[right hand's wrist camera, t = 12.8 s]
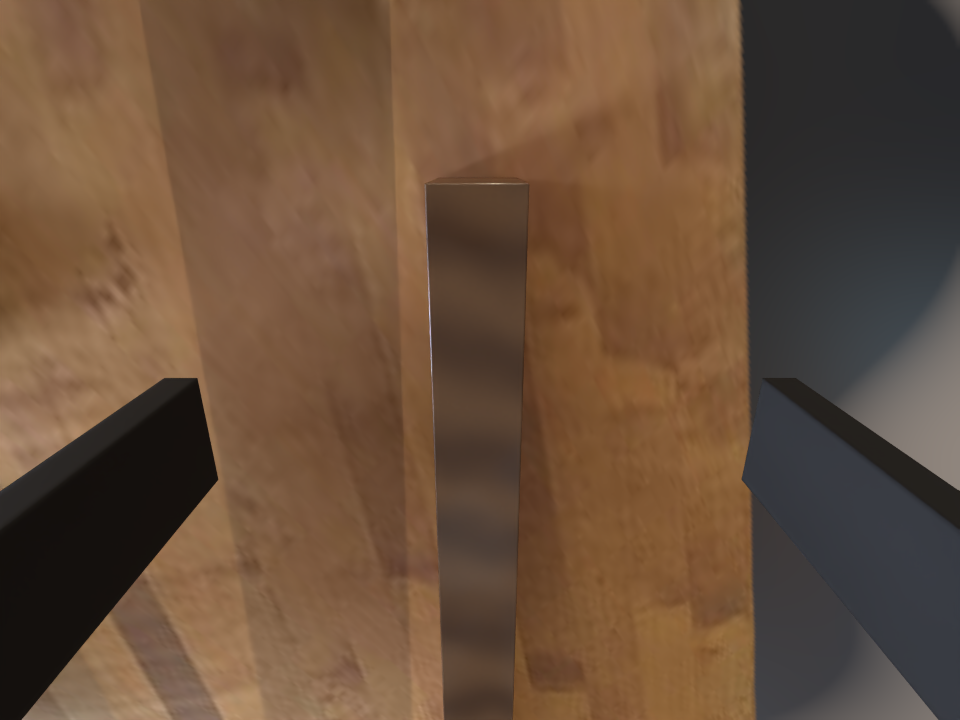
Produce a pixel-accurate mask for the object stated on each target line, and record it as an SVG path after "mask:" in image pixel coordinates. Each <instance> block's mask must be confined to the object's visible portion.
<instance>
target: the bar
mask: <svg viewBox="0 0 960 720" xmlns="http://www.w3.org/2000/svg"><path fill="white" fill-rule="evenodd" d="M528 206H529V184H528V183H526V182H524V181H522V180H520V179H518V178H437V179H435V180H432V181H430V182H428V183H426V184H425V209H426V236H427V264H428V292H429V319H430V347H431V375H432V402H433V430H434V458H435V486H436V513H437V541H438V569H439V596H440V624H441V652H442V679H443V707H444V720H513V692H514V660H515V627H516V595H517V562H518V530H519V498H520V465H521V433H522V400H523V368H524V336H525V303H526V271H527V238H528Z"/></svg>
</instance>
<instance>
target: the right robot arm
mask: <svg viewBox="0 0 960 720" xmlns="http://www.w3.org/2000/svg"><path fill="white" fill-rule="evenodd" d="M217 481H218V476H217V471H216V466H215V461H214V456H213V451H212V447H211V442H210V437H209V432H208V427H207V422H206V418H205V413H204V408H203V403H202V398H201V393H200V388H199V384H198V379H197V378H164V379H162V380H161V381H160V382H158V383H157V384H155V385H154V386H152V387H151V388H149V389H148V390H146V391H145V392H144V393H142V394H141V395H139V396H138V397H136V398H135V399H133V400H132V401H131V402H129V403H128V404H126V405H125V406H123V407H122V408H120V409H119V410H117V411H116V412H115V413H113V414H112V415H110V416H109V417H107V418H106V419H104V420H103V421H102V422H100V423H99V424H97V425H96V426H94V427H93V428H91V429H90V430H89V431H87V432H86V433H84V434H83V435H81V436H80V437H78V438H77V439H75V440H74V441H73V442H71V443H70V444H68V445H67V446H65V447H64V448H62V449H61V450H60V451H58V452H57V453H55V454H54V455H52V456H51V457H49V458H48V459H46V460H45V461H44V462H42V463H41V464H39V465H38V466H36V467H35V468H33V469H32V470H31V471H29V472H28V473H26V474H25V475H23V476H22V477H20V478H19V479H17V480H16V481H15V482H13V483H12V484H10V485H9V486H7V487H6V488H4V489H3V490H2V491H0V720H22V718H23V717H24V716H25V715H26V714H27V712H28V711H29V710H30V709H31V707H32V706H33V705H34V704H35V703H36V701H37V700H38V699H39V698H40V696H41V695H42V694H43V693H44V692H45V690H46V689H47V688H48V687H49V686H50V684H51V683H52V682H53V681H54V679H55V678H56V677H57V676H58V675H59V673H60V672H61V671H62V670H63V668H64V667H65V666H66V665H67V664H68V662H69V661H70V660H71V659H72V657H73V656H74V655H75V654H76V653H77V651H78V650H79V649H80V648H81V646H82V645H83V644H84V643H85V642H86V640H87V639H88V638H89V637H90V635H91V634H92V633H93V632H94V631H95V629H96V628H97V627H98V626H99V625H100V623H101V622H102V621H103V620H104V618H105V617H106V616H107V615H108V614H109V612H110V611H111V610H112V609H113V607H114V606H115V605H116V604H117V603H118V601H119V600H120V599H121V598H122V596H123V595H124V594H125V593H126V592H127V590H128V589H129V588H130V587H131V585H132V584H133V583H134V582H135V581H136V579H137V578H138V577H139V576H140V575H141V573H142V572H143V571H144V570H145V568H146V567H147V566H148V565H149V564H150V562H151V561H152V560H153V559H154V557H155V556H156V555H157V554H158V553H159V551H160V550H161V549H162V548H163V546H164V545H165V544H166V543H167V542H168V540H169V539H170V538H171V537H172V535H173V534H174V533H175V532H176V531H177V529H178V528H179V527H180V526H181V524H182V523H183V522H184V521H185V520H186V518H187V517H188V516H189V515H190V514H191V512H192V511H193V510H194V509H195V507H196V506H197V505H198V504H199V503H200V501H201V500H202V499H203V498H204V496H205V495H206V494H207V493H208V492H209V490H210V489H211V488H212V487H213V485H214V484H215V483H216V482H217ZM742 481H743V482H744V483H745V484H746V485H747V487H748V488H749V489H750V490H751V492H752V493H753V494H754V495H755V496H756V498H757V499H758V500H759V501H760V502H761V504H762V505H763V506H764V507H765V509H766V510H767V511H768V512H769V514H770V515H771V516H772V517H773V518H774V520H775V521H776V522H777V523H778V524H779V526H780V527H781V528H782V529H783V531H784V532H785V533H786V534H787V535H788V537H789V538H790V539H791V540H792V542H793V543H794V544H795V545H796V546H797V548H798V549H799V550H800V551H801V553H802V554H803V555H804V556H805V557H806V559H807V560H808V561H809V562H810V563H811V565H812V566H813V567H814V568H815V570H816V571H817V572H818V573H819V575H820V576H821V577H822V578H823V579H824V581H825V582H826V583H827V584H828V585H829V587H830V588H831V589H832V590H833V592H834V593H835V594H836V595H837V596H838V598H839V599H840V600H841V601H842V603H843V604H844V605H845V606H846V607H847V609H848V610H849V611H850V612H851V614H852V615H853V616H854V617H855V618H856V620H857V621H858V622H859V623H860V624H861V626H862V627H863V628H864V629H865V631H866V632H867V633H868V634H869V635H870V637H871V638H872V639H873V640H874V642H875V643H876V644H877V645H878V646H879V648H880V649H881V650H882V651H883V653H884V654H885V655H886V656H887V657H888V659H889V660H890V661H891V662H892V664H893V665H894V666H895V667H896V668H897V670H898V671H899V672H900V673H901V675H902V676H903V677H904V678H905V679H906V681H907V682H908V683H909V684H910V686H911V687H912V688H913V689H914V690H915V692H916V693H917V694H918V695H919V696H920V698H921V699H922V700H923V701H924V703H925V704H926V705H927V706H928V707H929V709H930V710H931V711H932V712H933V714H934V715H935V716H936V717H937V718H938V720H960V491H959V490H957V489H955V488H954V487H953V486H951V485H950V484H948V483H947V482H945V481H944V480H942V479H941V478H940V477H938V476H937V475H935V474H934V473H932V472H931V471H929V470H928V469H927V468H925V467H924V466H922V465H921V464H919V463H918V462H916V461H915V460H913V459H912V458H911V457H909V456H908V455H906V454H905V453H903V452H902V451H900V450H899V449H898V448H896V447H895V446H893V445H892V444H890V443H889V442H887V441H886V440H885V439H883V438H882V437H880V436H879V435H877V434H876V433H874V432H873V431H871V430H870V429H869V428H867V427H866V426H864V425H863V424H861V423H860V422H858V421H857V420H855V419H854V418H853V417H851V416H850V415H848V414H847V413H845V412H844V411H842V410H841V409H840V408H838V407H837V406H835V405H834V404H832V403H831V402H829V401H828V400H827V399H825V398H824V397H822V396H821V395H819V394H818V393H816V392H815V391H814V390H812V389H811V388H809V387H808V386H806V385H805V384H803V383H802V382H800V381H799V380H798V379H796V378H763V379H762V384H761V388H760V393H759V398H758V403H757V408H756V413H755V418H754V422H753V427H752V432H751V437H750V442H749V447H748V451H747V456H746V461H745V466H744V471H743V476H742Z"/></svg>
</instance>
